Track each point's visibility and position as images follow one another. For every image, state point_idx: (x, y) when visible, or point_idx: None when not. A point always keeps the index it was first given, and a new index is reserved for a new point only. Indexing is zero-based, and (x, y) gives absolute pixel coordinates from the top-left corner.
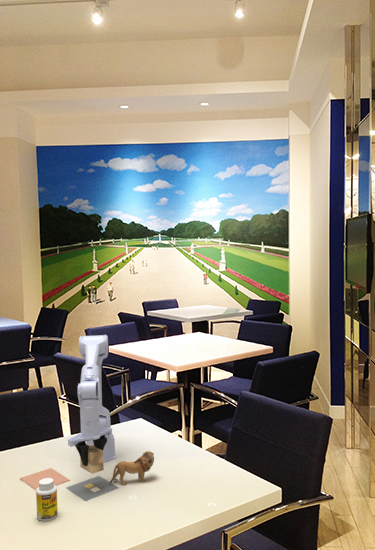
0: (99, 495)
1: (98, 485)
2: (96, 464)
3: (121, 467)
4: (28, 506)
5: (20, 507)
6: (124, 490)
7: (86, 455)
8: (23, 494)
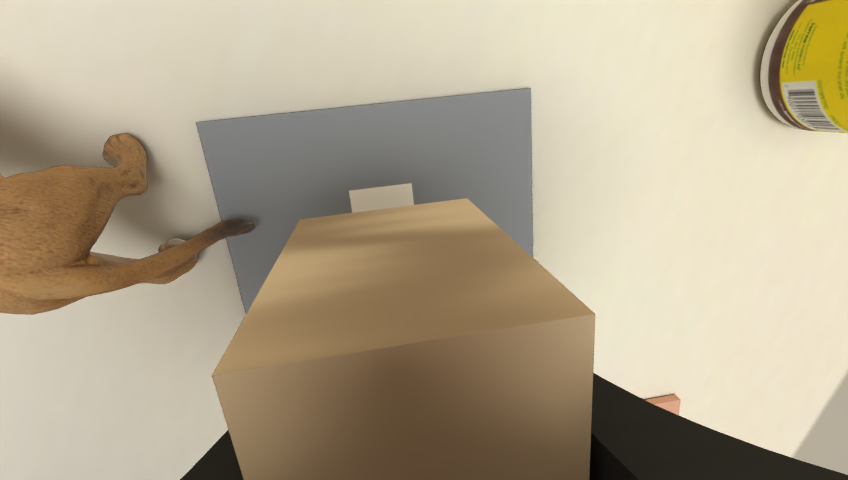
0: (401, 102)
1: None
2: (416, 235)
3: (36, 202)
4: (797, 268)
5: (828, 283)
6: (169, 56)
7: (607, 408)
8: (733, 414)
